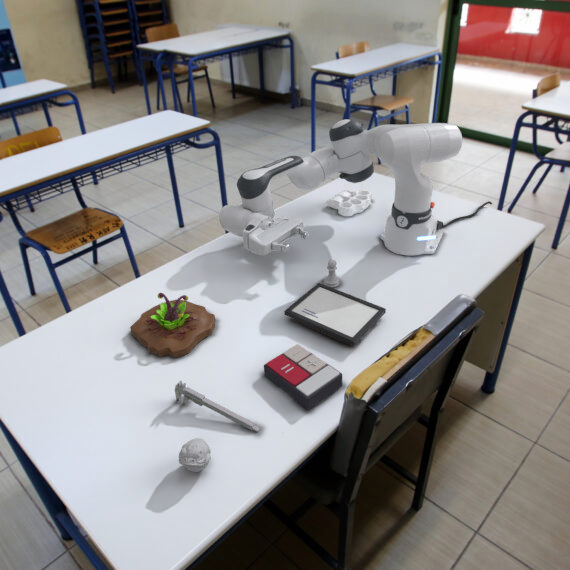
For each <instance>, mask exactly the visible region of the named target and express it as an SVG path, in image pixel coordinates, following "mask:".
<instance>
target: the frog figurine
mask: <svg viewBox="0 0 570 570" xmlns="http://www.w3.org/2000/svg"><path fill="white" fill-rule="evenodd" d="M211 453H212V450H211V447H210V445H209V444H208V443H207V441H206V440H204V439H203V438H201V437H200V438H199V437H194V438H192V439H190V440H188V441H187V442H186V443H184V444H183V445H182V447H181V449H180V451H179V453H178V463H179V464H180V465H181V466H183V467H184V468H186V469H187V470H188V471H190V472H193V473H199V472H202V471H203V470H204V469H206V468H207V466H208V464H209V463H210V461H211V459H212V456H211Z"/></svg>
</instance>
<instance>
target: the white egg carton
mask: <svg viewBox="0 0 570 570" xmlns="http://www.w3.org/2000/svg"><path fill="white" fill-rule="evenodd" d="M326 205H327V206H328V207H329V208H332V209H334V210H338V211H337V213H338V215H340V216H341V217H353V216H354V215H356V214H360V213H363V212H364V210H366V209H368V208H369V206H370V205H373V202H372V192H371V191H369V190H366V189H359V190H350V189H344V190H341V192H339V193H338V194H337V195H336V194H335V195H334V196H333V197H332V198H330V199H328V200H327V201H326Z"/></svg>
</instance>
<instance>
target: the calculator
mask: <svg viewBox="0 0 570 570" xmlns="http://www.w3.org/2000/svg"><path fill="white" fill-rule="evenodd" d="M263 374H264V376H266V378H267V379H269V380H270V381H271V382H273V383H274V384H276V386H278V387H279V388H281V389H282V390H283V391H284V392H286V393H287V394H288V395H289V396H290V397H292V398H293V399H294V400H295V402H296V403H297V404H299V405H300V406H302V408H304V409H305V410H307V411H309V410H311V409H313V408H314V407H315V406H316V405H318V404H319V403H321V402H322V401H324V400H325V399H326V398H328V397H329V396H330V395H332V394H334V393H335V392H337V391H338V390H339V389H340V388H342V387H343V373H342V372H341V371H339V370H337V369H336V368H335V367H333V366H332V365H330V364H328V363H327V362H325V361H324V360H322V359H321V358H319V356H316V355H315V354H313V353H312V352H310V351H309V350H308V349H306V348H304V346H301V345H300V344H295V345H293V346H292V347H290V348H289V349H287V350H285V351H284V352H283V353H281V354H279V355H277V356H275V357H274V358H272V359H271V360H269V361H268V362H266V363H265V364H263Z"/></svg>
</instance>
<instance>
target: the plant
mask: <svg viewBox="0 0 570 570" xmlns="http://www.w3.org/2000/svg"><path fill="white" fill-rule="evenodd" d="M157 298H158V299H164V300H165V302H161V303H159V304H157V305H154V306H153V307H150V309H148V310H146V311H144V312H142V313H141V314H140V317H139V318H138V319H137V320H136V321H135V322H134V323H133V324H132V325H130V327H129V329H130V333H131V335H132V337H133V338H134V339H136V340H137V341H138V342H139V343H140V345H141V346H143V347H145V348H147V350H148V354H156V356H157V357H159V358H161V357H164V356H168V355H170V356H171V357H172V358H179V357H183V356H186V355H188V354H189V353H190V352H192V351H193V349H194V348H195V347H196V346H198V344H199V343H200V342H202V341H203V340H204V339H206V338H208V337H209V336H211V335H213V331H214V330H215V328H216V324H215V323H216V315H215V314H214V313H210V312H209V311H208V310H207V309H206V307H205V306H204V305H200V304H197V303H193V302H191V301H189V296H188V295H186V294H183V295H181V296H179V297H178V298H177V299H173V300H169V298H168V297H167V296H166V294H165V293H163V292H158V294H157Z"/></svg>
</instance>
